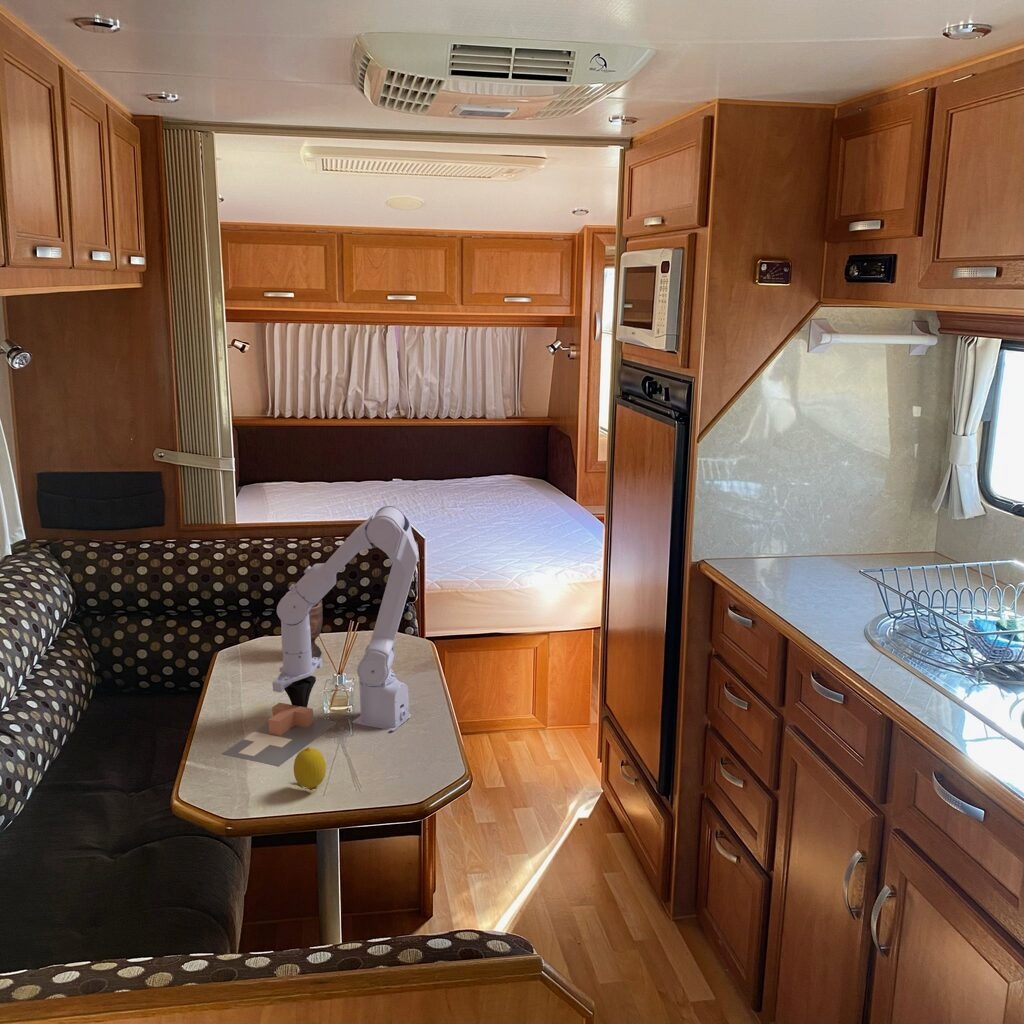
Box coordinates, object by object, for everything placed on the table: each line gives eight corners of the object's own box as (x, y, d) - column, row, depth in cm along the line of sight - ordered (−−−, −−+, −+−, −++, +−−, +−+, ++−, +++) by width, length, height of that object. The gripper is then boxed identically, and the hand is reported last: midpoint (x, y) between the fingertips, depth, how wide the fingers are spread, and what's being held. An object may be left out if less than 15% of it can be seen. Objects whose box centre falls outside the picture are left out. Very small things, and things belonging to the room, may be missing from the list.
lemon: (313, 778, 175) (310, 737, 173) (333, 788, 171) (331, 746, 170) (288, 790, 171) (285, 748, 169) (308, 800, 167) (306, 757, 165)
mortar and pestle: (287, 646, 239) (282, 568, 235) (322, 643, 241) (319, 566, 237) (288, 663, 228) (283, 582, 224) (325, 660, 230) (321, 579, 226)
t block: (280, 716, 199) (279, 702, 198) (313, 722, 196) (312, 708, 195) (257, 731, 192) (256, 717, 191) (291, 738, 189) (290, 723, 188)
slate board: (338, 724, 196) (338, 722, 196) (279, 769, 178) (279, 766, 178) (284, 714, 201) (284, 711, 201) (221, 756, 183) (221, 753, 183)
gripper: (300, 635, 203) (304, 695, 206) (258, 658, 190) (262, 723, 193) (329, 639, 201) (332, 700, 204) (288, 664, 188) (292, 729, 191)
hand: (300, 712), depth 198 cm, fingers closed
